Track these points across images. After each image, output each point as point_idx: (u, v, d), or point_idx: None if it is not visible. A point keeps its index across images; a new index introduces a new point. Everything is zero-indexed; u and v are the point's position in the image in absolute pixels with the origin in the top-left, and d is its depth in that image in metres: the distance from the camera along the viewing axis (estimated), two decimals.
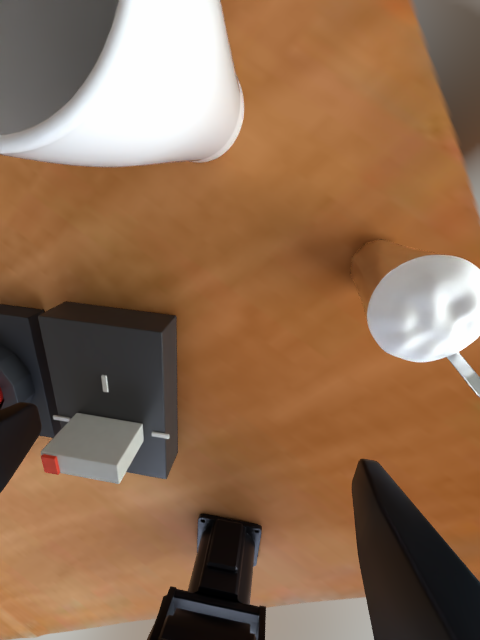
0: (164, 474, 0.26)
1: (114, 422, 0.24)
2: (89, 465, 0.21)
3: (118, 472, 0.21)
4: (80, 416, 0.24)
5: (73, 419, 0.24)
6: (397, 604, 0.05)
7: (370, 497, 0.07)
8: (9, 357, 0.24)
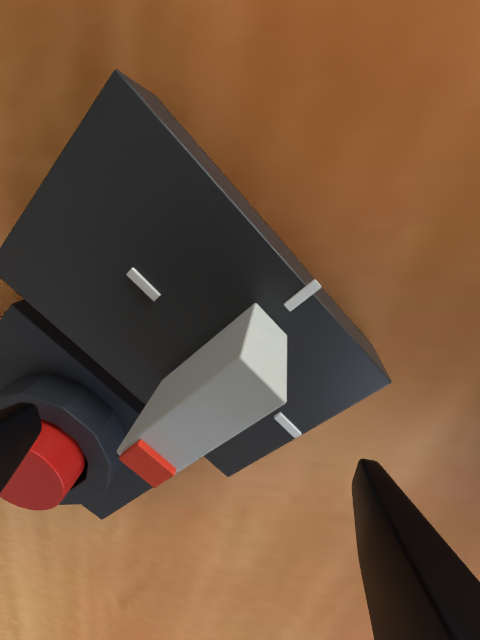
0: (379, 373, 0.12)
1: (213, 339, 0.12)
2: (200, 407, 0.09)
3: (261, 375, 0.08)
4: (167, 377, 0.13)
5: (158, 387, 0.13)
6: (397, 604, 0.05)
7: (370, 497, 0.07)
8: (41, 380, 0.15)
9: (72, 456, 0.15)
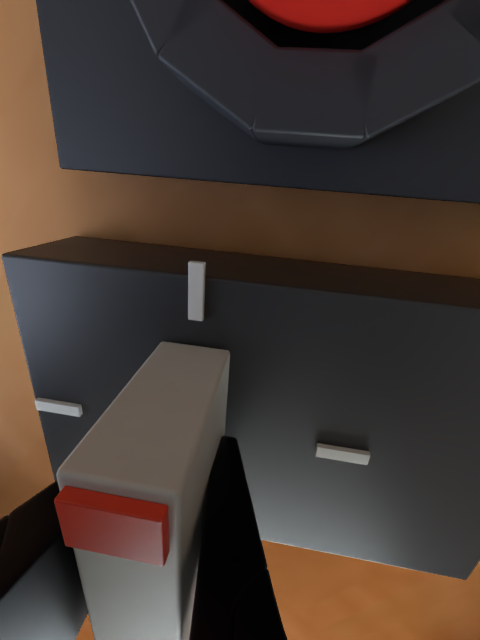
0: None
1: None
2: (155, 624, 0.06)
3: None
4: (226, 377, 0.08)
5: (224, 375, 0.07)
6: None
7: None
8: None
9: None
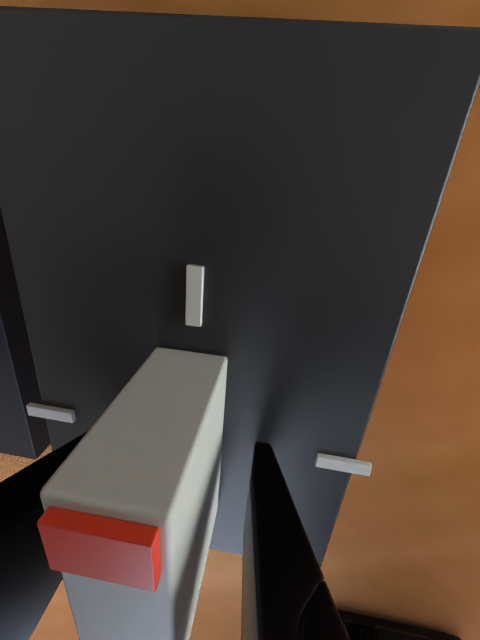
0: (318, 560, 0.10)
1: (218, 471, 0.08)
2: None
3: None
4: (224, 384, 0.07)
5: (221, 382, 0.07)
6: (247, 572, 0.06)
7: None
8: None
9: None
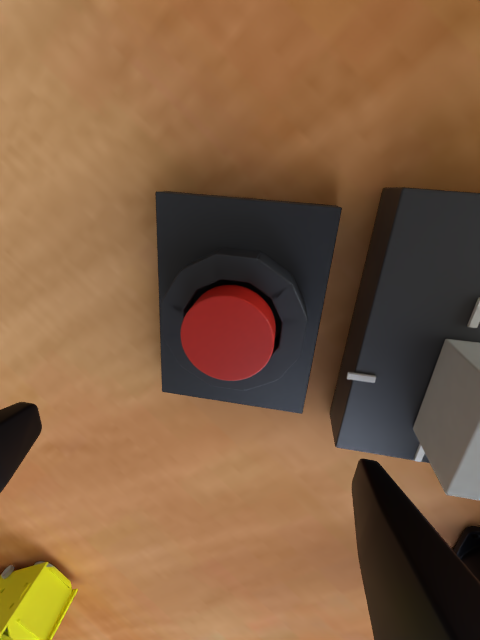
0: None
1: None
2: None
3: (470, 497, 0.13)
4: None
5: None
6: (397, 604, 0.05)
7: (370, 497, 0.07)
8: (292, 277, 0.15)
9: None
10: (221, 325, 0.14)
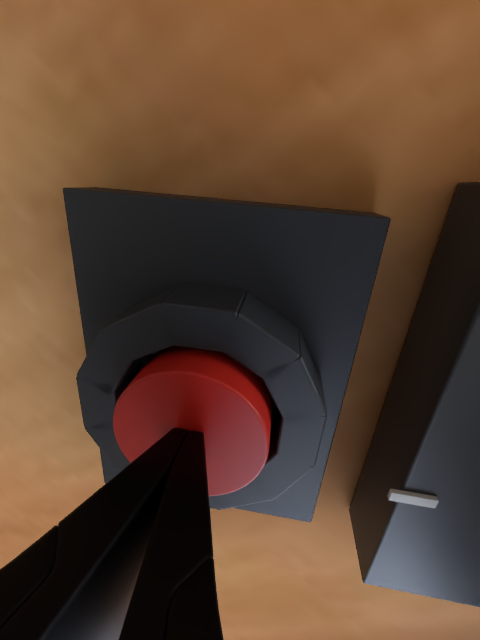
0: None
1: None
2: None
3: None
4: None
5: None
6: None
7: None
8: (299, 337, 0.09)
9: None
10: (179, 417, 0.08)
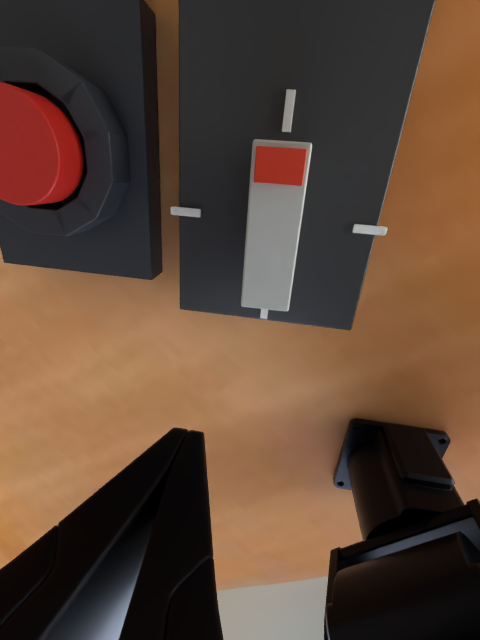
0: (351, 319, 0.16)
1: None
2: (282, 257, 0.11)
3: (268, 309, 0.12)
4: None
5: None
6: None
7: None
8: (97, 89, 0.13)
9: (72, 179, 0.14)
10: None
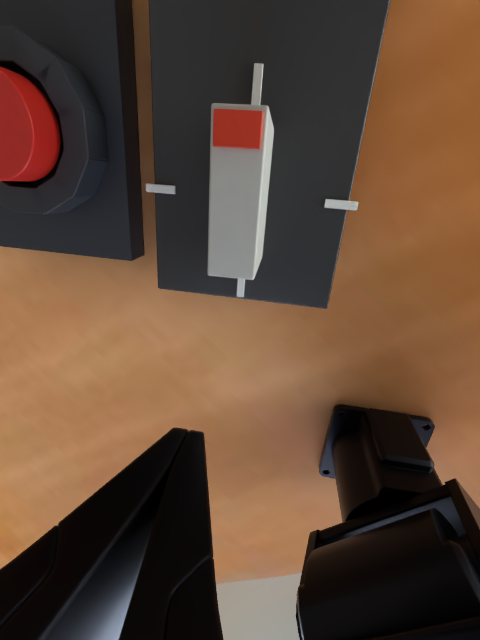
0: (326, 297, 0.16)
1: None
2: (245, 223, 0.11)
3: None
4: (272, 142, 0.13)
5: (272, 131, 0.12)
6: None
7: None
8: (74, 68, 0.14)
9: (48, 156, 0.14)
10: None
